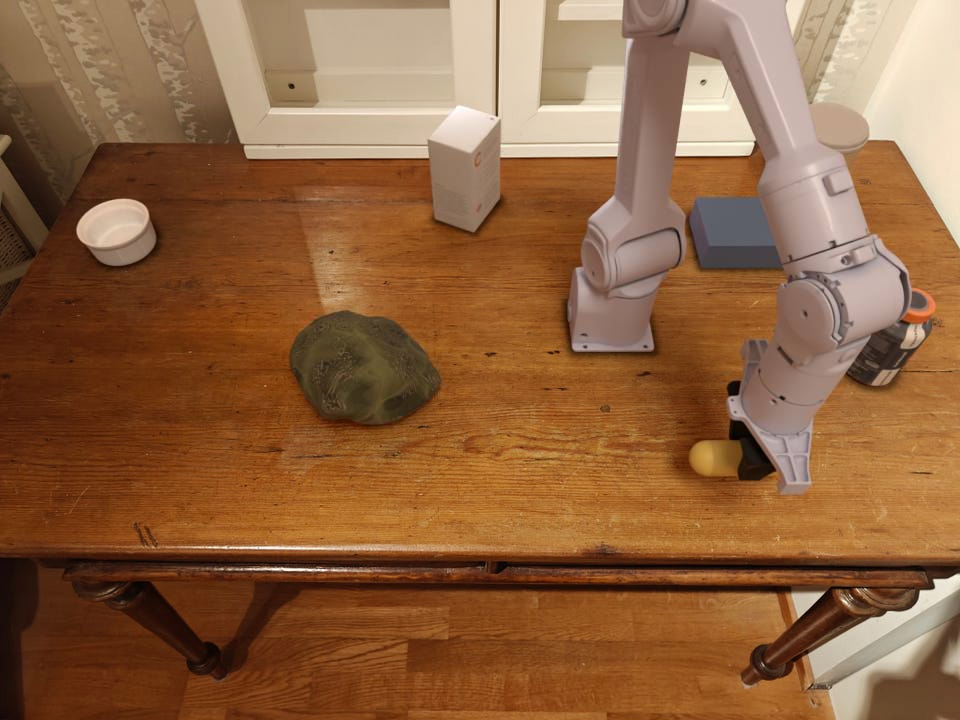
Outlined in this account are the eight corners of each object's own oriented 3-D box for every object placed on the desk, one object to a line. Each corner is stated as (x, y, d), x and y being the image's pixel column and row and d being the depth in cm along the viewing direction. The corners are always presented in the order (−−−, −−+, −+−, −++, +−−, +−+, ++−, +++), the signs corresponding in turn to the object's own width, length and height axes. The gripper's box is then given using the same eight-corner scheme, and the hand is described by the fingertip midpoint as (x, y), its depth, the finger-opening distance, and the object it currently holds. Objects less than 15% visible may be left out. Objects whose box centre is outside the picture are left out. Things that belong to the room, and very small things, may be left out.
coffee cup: (841, 190, 98) (880, 114, 88) (822, 229, 93) (861, 154, 84) (776, 168, 101) (806, 92, 91) (754, 205, 96) (784, 130, 87)
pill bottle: (898, 391, 78) (952, 327, 69) (842, 383, 78) (889, 318, 69) (890, 349, 81) (941, 283, 72) (837, 342, 82) (881, 274, 73)
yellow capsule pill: (688, 482, 67) (697, 465, 64) (682, 451, 69) (690, 433, 66) (797, 482, 67) (811, 465, 64) (788, 451, 69) (801, 433, 66)
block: (701, 268, 89) (709, 245, 86) (688, 220, 94) (695, 197, 91) (811, 268, 89) (823, 245, 86) (792, 219, 94) (803, 196, 91)
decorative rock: (407, 324, 86) (405, 261, 79) (450, 421, 76) (453, 360, 69) (285, 351, 82) (271, 287, 74) (313, 458, 72) (301, 396, 65)
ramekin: (143, 274, 89) (129, 249, 86) (78, 266, 90) (62, 242, 87) (172, 226, 95) (160, 201, 91) (110, 220, 95) (96, 195, 92)
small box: (461, 185, 99) (457, 103, 89) (501, 198, 97) (502, 116, 87) (432, 219, 95) (425, 138, 84) (474, 234, 93) (472, 153, 83)
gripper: (725, 306, 60) (688, 394, 71) (766, 457, 51) (717, 530, 62) (808, 306, 60) (758, 394, 71) (863, 456, 51) (796, 530, 62)
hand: (744, 458), depth 66 cm, fingers closed on yellow capsule pill, 3 cm apart
